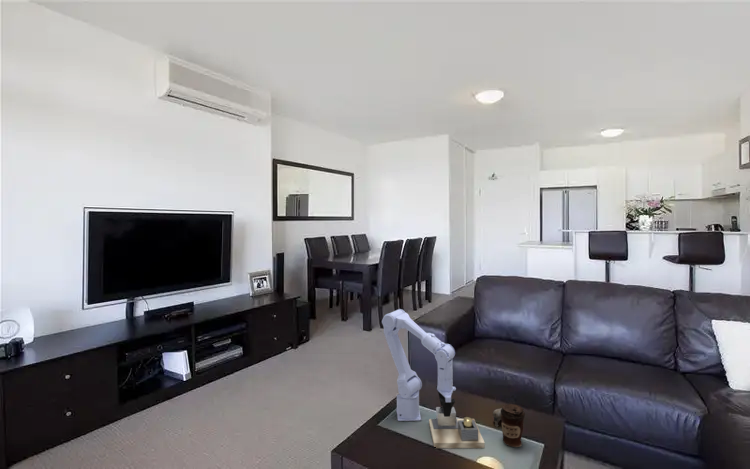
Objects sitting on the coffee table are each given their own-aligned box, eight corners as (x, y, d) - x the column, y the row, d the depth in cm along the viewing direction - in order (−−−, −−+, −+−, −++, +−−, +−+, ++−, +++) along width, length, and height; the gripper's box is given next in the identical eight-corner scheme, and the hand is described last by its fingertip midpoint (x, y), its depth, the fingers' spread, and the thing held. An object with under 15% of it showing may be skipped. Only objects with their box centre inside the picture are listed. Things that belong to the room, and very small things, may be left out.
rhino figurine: (521, 418, 149) (521, 404, 149) (497, 428, 143) (497, 413, 142) (513, 413, 153) (513, 399, 152) (489, 423, 146) (489, 408, 146)
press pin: (464, 432, 133) (464, 421, 133) (462, 427, 136) (462, 417, 136) (472, 432, 133) (472, 421, 133) (471, 427, 136) (470, 417, 136)
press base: (434, 448, 132) (434, 431, 131) (429, 423, 146) (428, 409, 146) (484, 447, 131) (484, 431, 131) (474, 423, 146) (474, 408, 146)
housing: (437, 427, 141) (437, 413, 140) (436, 420, 145) (436, 406, 145) (456, 427, 140) (456, 413, 140) (454, 420, 145) (453, 406, 144)
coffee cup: (522, 453, 128) (522, 417, 127) (497, 445, 132) (497, 410, 131) (526, 439, 135) (526, 405, 134) (503, 432, 140) (503, 400, 139)
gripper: (459, 385, 134) (459, 421, 135) (451, 368, 149) (451, 400, 150) (440, 385, 134) (440, 421, 135) (434, 368, 149) (434, 400, 150)
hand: (445, 410), depth 142 cm, fingers open, 7 cm apart
